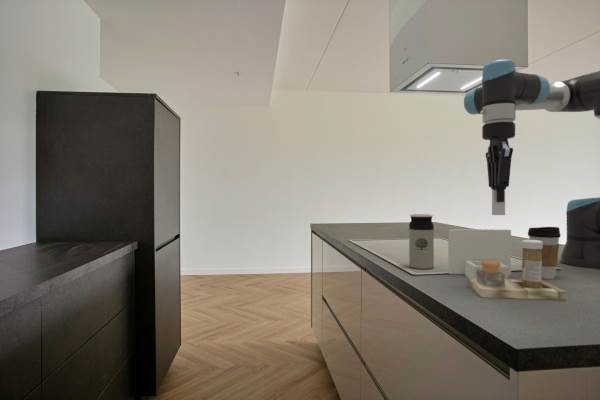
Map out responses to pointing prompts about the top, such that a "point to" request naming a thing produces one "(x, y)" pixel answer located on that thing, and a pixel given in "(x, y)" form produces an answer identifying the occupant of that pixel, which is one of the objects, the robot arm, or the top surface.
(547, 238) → the coffee cup
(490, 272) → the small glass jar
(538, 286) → the sprinkles bottle
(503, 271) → the tall white box
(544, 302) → the top surface
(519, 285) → the socket block
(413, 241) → the travel mug
